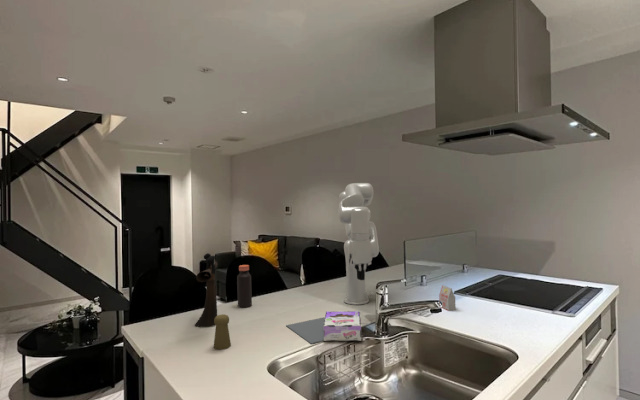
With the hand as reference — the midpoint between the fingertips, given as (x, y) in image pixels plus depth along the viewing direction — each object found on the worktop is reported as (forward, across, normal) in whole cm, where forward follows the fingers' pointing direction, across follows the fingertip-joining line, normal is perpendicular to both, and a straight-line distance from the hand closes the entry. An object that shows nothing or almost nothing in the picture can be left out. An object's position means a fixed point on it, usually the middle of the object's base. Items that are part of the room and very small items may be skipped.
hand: (360, 279), depth 151 cm
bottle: (+18, +37, -47) cm, 63 cm away
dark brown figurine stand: (+17, +59, -30) cm, 68 cm away
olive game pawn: (+16, +59, -3) cm, 61 cm away
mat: (+16, +22, +2) cm, 28 cm away
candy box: (+13, +12, +4) cm, 18 cm away
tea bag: (+18, -41, +11) cm, 46 cm away
